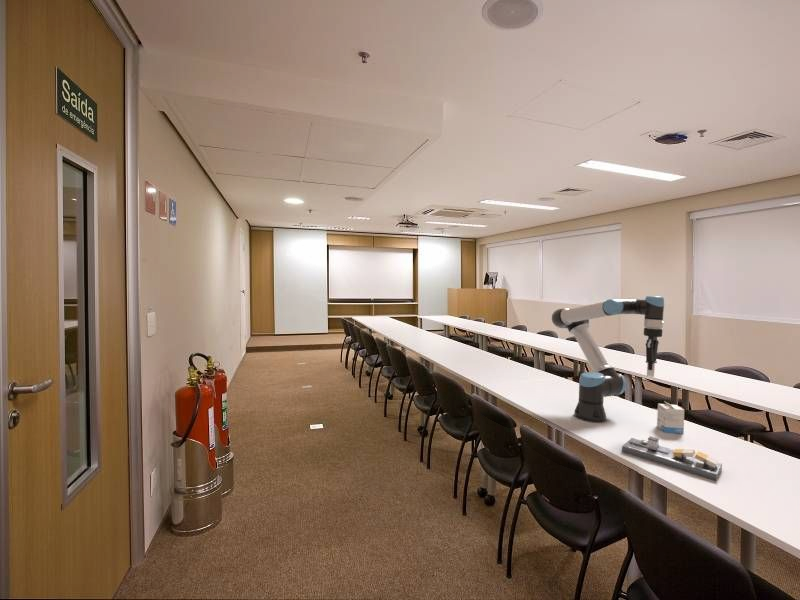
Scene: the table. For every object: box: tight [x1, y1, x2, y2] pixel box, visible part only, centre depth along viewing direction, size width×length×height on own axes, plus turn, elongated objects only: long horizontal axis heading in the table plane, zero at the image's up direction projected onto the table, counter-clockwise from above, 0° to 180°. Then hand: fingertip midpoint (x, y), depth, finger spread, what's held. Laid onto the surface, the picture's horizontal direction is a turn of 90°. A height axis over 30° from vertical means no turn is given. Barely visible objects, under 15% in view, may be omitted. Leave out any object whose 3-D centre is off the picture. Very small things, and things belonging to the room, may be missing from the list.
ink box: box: [656, 400, 685, 434], centre depth 187 cm, size 9×8×13 cm
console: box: [621, 437, 723, 482], centre depth 154 cm, size 31×13×4 cm, turn 43°
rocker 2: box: [694, 450, 719, 468], centre depth 146 cm, size 6×6×2 cm
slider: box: [647, 436, 660, 450], centre depth 159 cm, size 3×3×4 cm
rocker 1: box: [673, 448, 696, 457], centre depth 151 cm, size 6×6×2 cm
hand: (650, 376), depth 186 cm, fingers closed
